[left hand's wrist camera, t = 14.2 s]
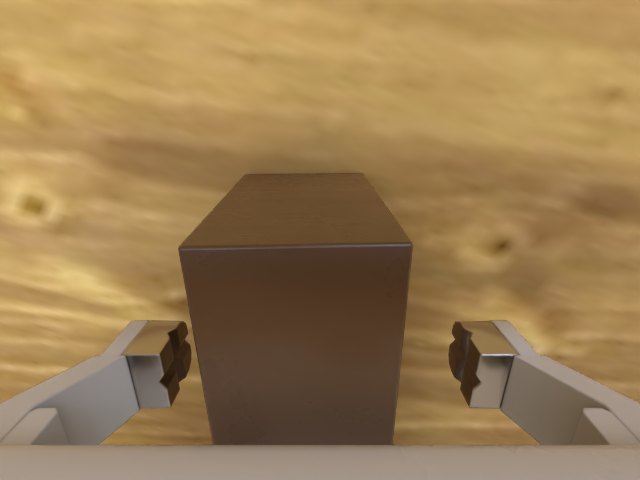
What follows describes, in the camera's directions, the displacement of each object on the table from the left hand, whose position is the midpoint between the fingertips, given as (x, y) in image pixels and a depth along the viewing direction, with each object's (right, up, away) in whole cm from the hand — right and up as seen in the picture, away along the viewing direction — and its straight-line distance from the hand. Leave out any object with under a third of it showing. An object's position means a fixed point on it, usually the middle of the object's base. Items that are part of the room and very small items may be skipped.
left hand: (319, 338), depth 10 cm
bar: (-1, -6, +10) cm, 12 cm away
